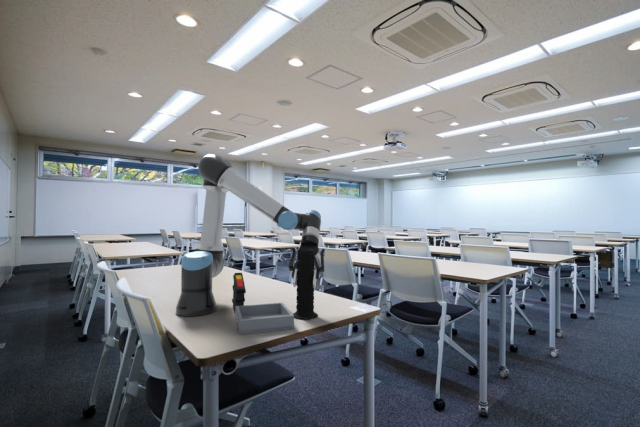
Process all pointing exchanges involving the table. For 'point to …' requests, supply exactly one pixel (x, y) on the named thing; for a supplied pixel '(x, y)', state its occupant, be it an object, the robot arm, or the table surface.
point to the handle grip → (305, 285)
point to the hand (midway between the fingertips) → (304, 285)
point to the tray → (263, 318)
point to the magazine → (238, 290)
